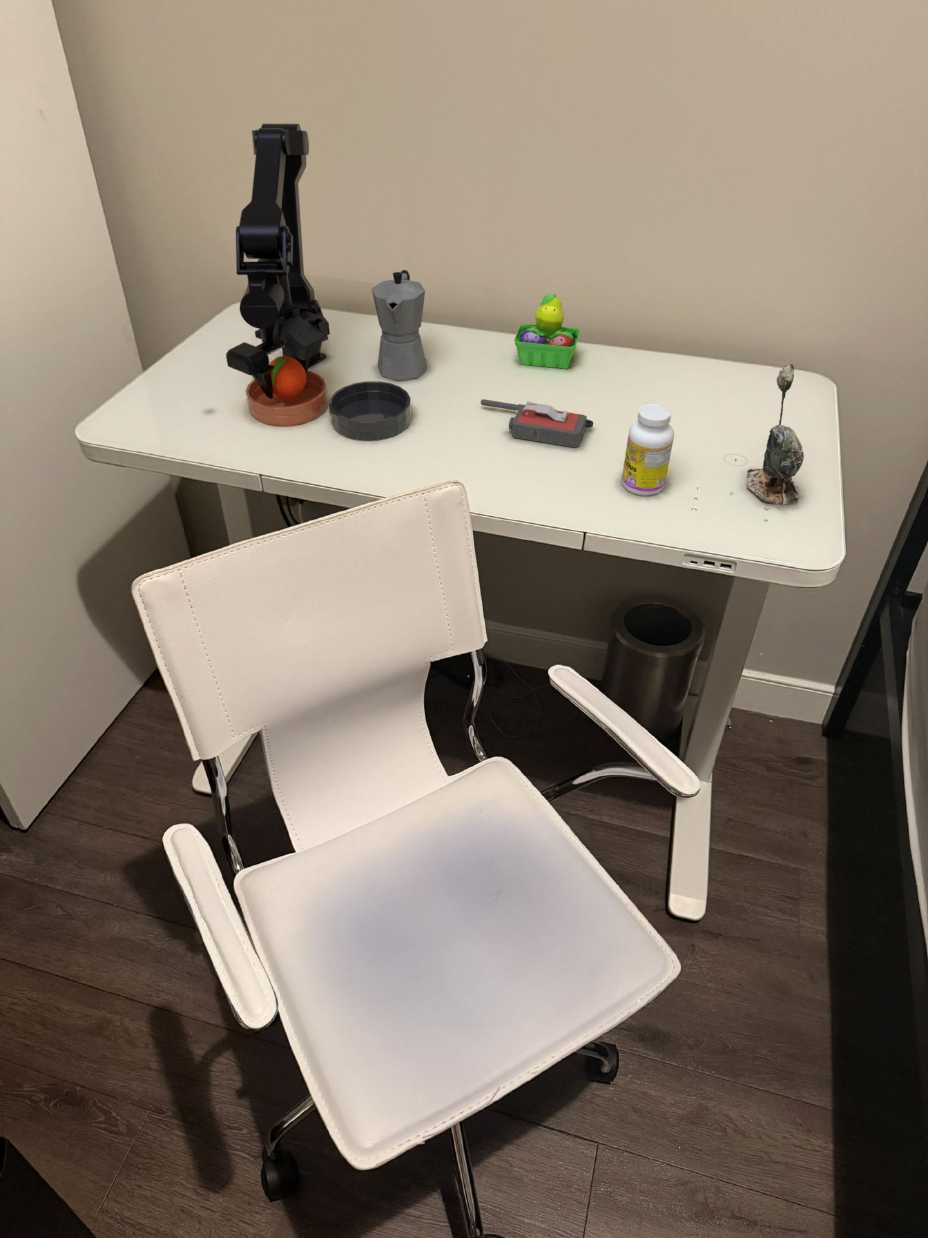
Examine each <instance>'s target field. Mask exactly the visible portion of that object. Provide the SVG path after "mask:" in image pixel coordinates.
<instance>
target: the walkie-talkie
mask: <svg viewBox="0 0 928 1238" xmlns="http://www.w3.org/2000/svg"><path fill="white" fill-rule="evenodd" d="M480 405H481V406H485V407H491V408H498V409H502V410H503V409H504V410H509V411H514V412H515V416H511V417H510V418H509V422H508V429H509V431H511V437H513V438H516V439H522V440H529V441H534V442H539V443H546V444H553V445H558V446H563V447H570V448H576V447H580V444H581V442H582V439H583V437H584V436H585V435H584V434H585V433H586V429H591V428H593V427H594V421H593V420H591V419H588V416H587V415H585V414H581V413H575V412H569V411H567V410H565V411H564V410H563V411H562V410H558V409H556V408H554V407H553V406H552V405H549V404H544V403H543V404H542V403H537V402H532V401H528V400H527V401H526V402H525V404H521V403H519V404H516V403H510V402H503V401H499V400H491V399H484V398H482V399H481V400H480Z"/></svg>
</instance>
